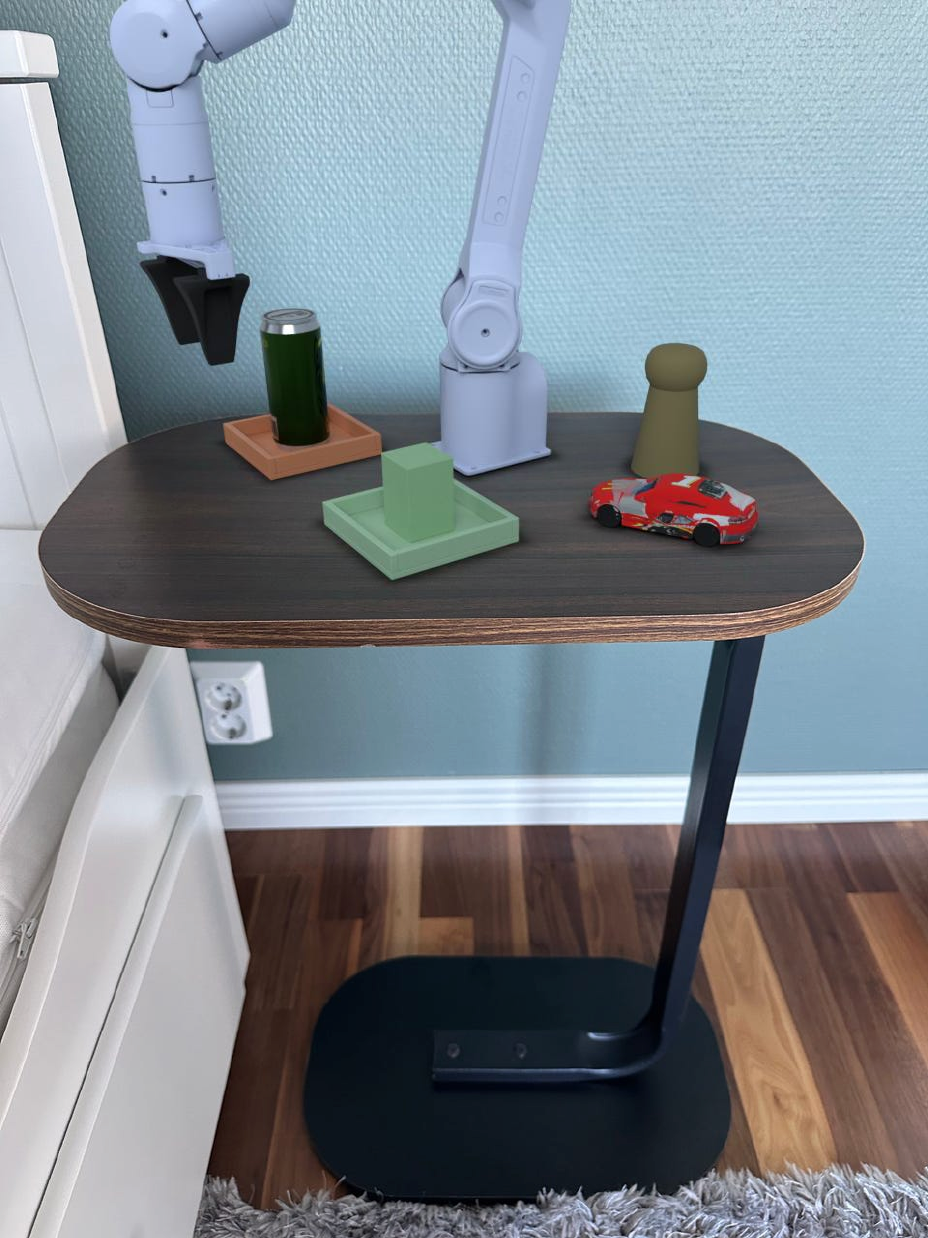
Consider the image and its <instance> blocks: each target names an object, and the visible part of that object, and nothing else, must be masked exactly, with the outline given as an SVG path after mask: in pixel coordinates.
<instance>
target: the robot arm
mask: <svg viewBox="0 0 928 1238" xmlns="http://www.w3.org/2000/svg"><path fill="white" fill-rule="evenodd" d="M490 2H491V4H492V5H493V7H494V9H495V11H496V12H497V14H498V16H499V17H500V19H501V20H502V31H501V37H500V42H499V47H498V48H499V49H498V54H497V60H496V66H495V70H494V76H493V81H492V88H491V94H490V99H489V105H488V109H487V110H488V111H487V116H486V121H485V128H484V132H483V133H484V134H483V139H482V145H481V150H480V155H479V161H478V169H477V173H476V178H475V184H474V190H473V196H472V202H471V205H470V206H471V208H470V213H469V218H468V223H467V228H466V229H467V230H466V236H465V239H464V242H463V245H462V248H461V250H460V253H459V255H458V256H459V257H458V261H457V267H456V270H455V273H454V275H453V278H452V279H451V280H450V281H449V283H448V284H447V285H446V287H445V288H444V291H443V292H442V295H441V297H440V304H439V312H440V313H439V314H440V317H441V320H442V323H443V325H444V327H445V329H446V336H447V338H446V339H447V343H446V345H445V347H444V348H443V349H442V350H441V351H440V352H439V354H438V355H439V356H438V365H439V367H438V368H439V369H438V370H439V371H438V372H439V408H440V409H439V413H440V440H439V441H434V442H430V443H429V444H430V445H432V446H433V447H435V448H437V449H439V450H440V451H442V452H444V453H445V454H447V455H449V456H451V457H452V458H453V470H456V471H458V472H459V473H461V474H463V475H464V476H466V477H467V476H468V477H470V476H475V475H478V474H483V473H486V472H490V471H493V470H497V469H502V468H506V467H509V466H513V465H518V464H521V463H525V462H528V461H533V460H536V459H540V458H545V457H548V456H551V454H552V449H550V448H549V447H548V446H547V430H548V401H549V385H548V379H547V374H546V370H545V368H544V366H543V364H542V362H541V361H540V360H539V358H538V357H537V356H535V354H533V353H531V352H529V351H520V349H519V347H520V345H521V342H522V339H523V331H524V328H523V327H524V325H523V321H522V317H521V313H520V308H519V299H520V292H521V288H522V252H523V247H524V242H525V238H526V232H527V227H528V222H529V217H530V213H531V207H532V203H533V199H534V193H535V189H536V184H537V179H538V174H539V169H540V164H541V159H542V155H543V150H544V144H545V140H546V135H547V129H548V126H549V125H548V124H549V121H550V115H551V110H552V105H553V102H554V96H555V91H556V87H557V81H558V76H559V73H560V67H561V63H562V57H563V51H564V48H565V43H566V39H567V38H566V37H567V32H568V28H569V24H570V18H571V13H572V0H490ZM296 3H297V0H126V1H124V2H123V3H122V4H121V5H120V6H118V8H117V9H116V11H115V12H114V14H113V17H112V19H111V23H110V27H109V42H110V47H111V51H112V55H113V57H114V59H115V60H116V62H117V65H118V66H119V67H120V68H121V70H122V71H123V72H124V74H125V75H127V76H126V77H125V83H126V89H127V90H126V91H127V92H126V93H127V97H128V101H129V107H130V114H129V115H130V123H131V127H132V134H133V139H134V145H135V151H136V158H137V163H138V170H139V175H140V180H141V181H140V183H141V187H142V188H141V189H142V193H143V198H144V204H145V210H146V215H147V216H146V217H147V221H148V229H149V235H150V237H149V239H148V240H143V241H138V242H136V246H137V251H138V252H139V253H141V254H142V255H156V258H153V259H145V260H141V261H140V262H139V266H140V267H141V269H142V271H143V272H144V274H145V275H146V277H147V278H148V279H149V281H150V283H151V284H152V286H153V287H154V290H155V291H156V293H157V295H158V297H159V299H160V302H161V304H162V306H163V307H162V308H163V309H164V311H165V314H166V317H167V319H168V322H169V325H170V327H171V330H172V333H173V335H174V337H175V340H176V343H177V344H178V345H179V346H186V345H192V344H198V343H200V346H201V350H202V353H203V355H204V358H205V361H206V362H207V363H206V364H208V365H209V366H210V367H214V366H220V365H225V364H231V363H235V358H236V351H237V339H238V328H239V321H240V315H241V311H242V307H243V303H244V300H245V298H246V295H247V293H248V291H249V289H250V285H251V277H250V276H249V275H248V274H245V273H244V272H240V273H236V270H235V262H234V254H233V251H232V250H231V249H229V243H228V237H227V236H226V235H225V233H224V225H223V217H222V211H221V203H220V195H219V187H218V182H217V181H218V179H217V174H216V173H217V172H216V167H215V165H216V164H215V159H214V150H213V143H212V136H211V135H212V134H211V128H210V119H209V113H208V112H207V110H206V108H205V100H204V92H203V87H202V78H201V75H200V74H201V72H202V70H203V68H204V66H205V61H208V62H210V63H212V64H215V65H218V64H220V63H222V62H223V61H225V60H227V59H229V58H231V57H233V56H235V55H236V54H238V53H240V52H243V51H244V50H246V49H247V48H249V47H251V46H253V45H255V44H257V43H259V42H261V41H263V40H264V39H266V38H268V37H270V36H273V35H274V34H276V33H278V32H279V31H282V30H284V29H285V28H287V27H289V26H290V25H291V22H292V20H293V16H294V11H295V6H296Z"/></svg>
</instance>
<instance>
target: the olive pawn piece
mask: <svg viewBox="0 0 928 1238" xmlns="http://www.w3.org/2000/svg"><path fill="white" fill-rule="evenodd" d="M644 372H645V379H646V380H647V382H648V383H649V385H648V390H647V393H646V399H645V403H644V407H643V411H642V416H641V420H640V425H639V429H638V432H637V438H636V441H635V447H634V451H633V455H632V459H631V465H630V468H631V471H632V472H633V473H634V474H635V475H637V476H639V477H641V478H642V479H650V478H654V477H658V476H661V475H662V474H664V475H666V474H670V473H682V474H689V475H695V476H698V474H699V473H700V443H699V442H700V441H699V438H700V437H699V430H700V429H699V386H700V385H701V384H702V383H703V381H704V380H705V378H706V375H707V374H708V373H707V372H708V358H707V356H706V354H705V351H704V350H702V349H701V348H700V347H699V346H697V345H694V344H689V343H685V342H684V343H683V342H669V343H661V344H658V345H656V346H654V347H652V348H651V350H649V352H648V354H647V355H646V358H645V361H644Z"/></svg>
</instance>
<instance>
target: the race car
mask: <svg viewBox="0 0 928 1238" xmlns="http://www.w3.org/2000/svg"><path fill="white" fill-rule="evenodd" d="M588 503H589V505H588V506H589V511H590V513H591V515H592V516H593V517H594V518H598V521H599V522H600V523H601V525H603V526H604V527H606V528H615V527H617V526H618V525H619V524H620V523H621V526H624V527H628V528H634V529H638V530H644V531H648V532H654V533H658V534H664V535H669V536H673V537H679V538H683V539H689V540H692V539H693V538H694V540H695V541H696V542H697V544H698V545H700V546H701V547H706V548H708V547H709V548H710V547H713V546H715V545H717V543H718V542H719V544H720V545H732V544H733V545H734V544H739V543H744V542H745V541H747V540H750V539H751V537H752V535H753V534H754V532H755V530H756V528H757V527H758V523H757V522H758V518H759V512H758V511H757V503H756V499H755V498H754V497H752V496H751V495H749V494H747V493H745V492H742V491H739V490H737V489H735V488H733V487H732V486H730V485H727V484H725V483H723V482H720V481H716V480H715V479H711V478H707V477H704V476H700V475H697V476H695V475H689V474H682V473H670V474H666V475H664V474H662V475H661V476H658V477H654V478H650V479H647V478H632V477H630V478H629V477H625V478H616V479H610V480H607V481H602V482H601V483H599V484H597V485H596V486H595V487H594V488H593V489H592V492H591V494H590V495H589V499H588Z"/></svg>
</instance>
